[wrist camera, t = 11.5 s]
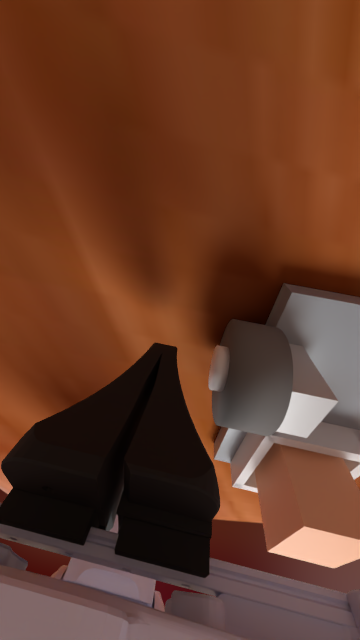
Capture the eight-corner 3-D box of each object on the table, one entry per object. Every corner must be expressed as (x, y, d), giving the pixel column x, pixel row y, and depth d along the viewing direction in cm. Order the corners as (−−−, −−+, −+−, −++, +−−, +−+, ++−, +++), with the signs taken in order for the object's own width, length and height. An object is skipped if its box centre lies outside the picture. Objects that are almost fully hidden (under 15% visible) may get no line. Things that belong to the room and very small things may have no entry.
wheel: (282, 384, 15) (318, 473, 10) (204, 368, 16) (201, 446, 10) (321, 319, 12) (400, 399, 7) (223, 300, 13) (231, 364, 7)
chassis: (317, 467, 21) (348, 544, 16) (213, 444, 21) (214, 511, 16) (475, 318, 11) (667, 397, 7) (283, 283, 12) (331, 332, 7)
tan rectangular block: (299, 467, 18) (333, 568, 13) (252, 456, 19) (267, 551, 14) (330, 435, 16) (389, 547, 10) (274, 423, 16) (304, 526, 11)
